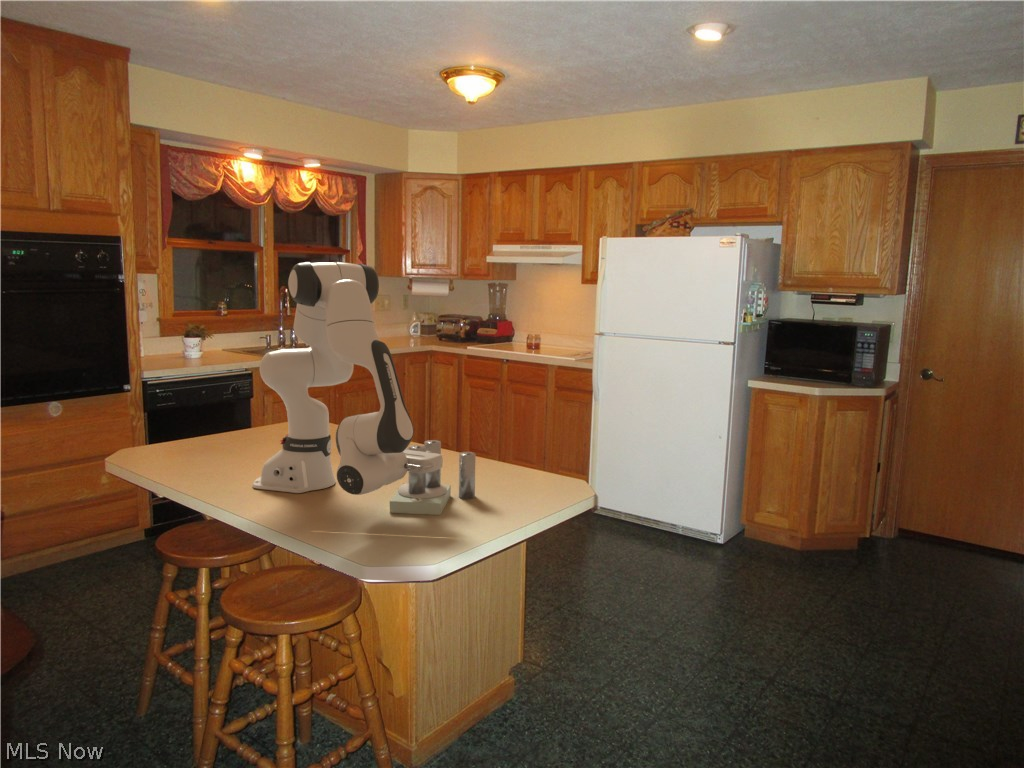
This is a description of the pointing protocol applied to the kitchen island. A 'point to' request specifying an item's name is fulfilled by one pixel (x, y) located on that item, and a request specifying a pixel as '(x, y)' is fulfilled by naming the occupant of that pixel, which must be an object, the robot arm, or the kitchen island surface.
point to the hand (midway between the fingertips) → (419, 452)
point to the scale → (420, 500)
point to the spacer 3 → (467, 475)
